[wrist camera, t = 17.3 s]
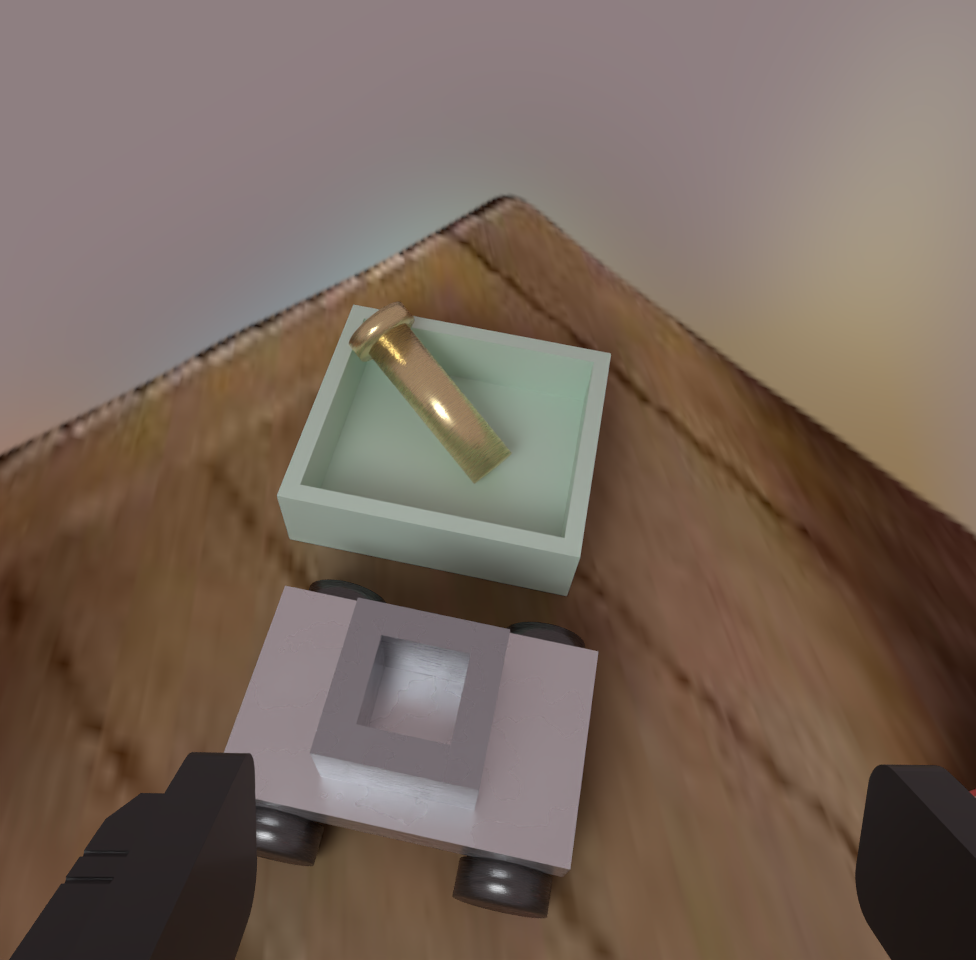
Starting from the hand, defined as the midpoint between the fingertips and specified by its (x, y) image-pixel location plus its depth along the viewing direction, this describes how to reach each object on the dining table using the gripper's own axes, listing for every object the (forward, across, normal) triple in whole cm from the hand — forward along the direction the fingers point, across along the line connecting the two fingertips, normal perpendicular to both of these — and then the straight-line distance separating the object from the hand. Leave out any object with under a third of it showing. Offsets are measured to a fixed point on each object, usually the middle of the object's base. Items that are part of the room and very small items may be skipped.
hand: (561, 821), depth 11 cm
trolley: (+30, +3, +17) cm, 34 cm away
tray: (+43, +2, +4) cm, 43 cm away
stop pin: (+40, -1, +3) cm, 40 cm away
